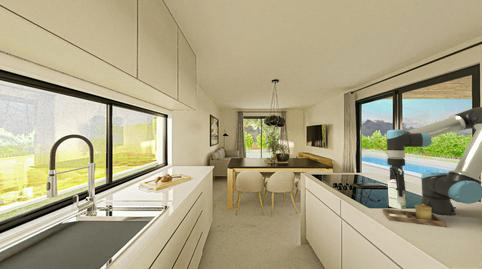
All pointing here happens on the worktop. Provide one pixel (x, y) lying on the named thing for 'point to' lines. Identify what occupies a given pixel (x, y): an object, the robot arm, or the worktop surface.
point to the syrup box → (395, 195)
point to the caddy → (411, 218)
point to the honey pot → (423, 212)
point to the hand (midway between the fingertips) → (397, 200)
